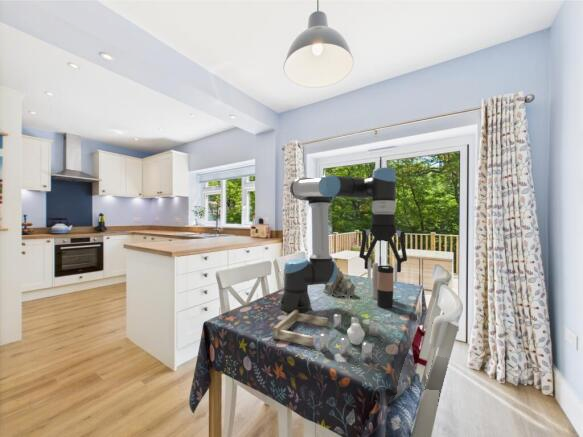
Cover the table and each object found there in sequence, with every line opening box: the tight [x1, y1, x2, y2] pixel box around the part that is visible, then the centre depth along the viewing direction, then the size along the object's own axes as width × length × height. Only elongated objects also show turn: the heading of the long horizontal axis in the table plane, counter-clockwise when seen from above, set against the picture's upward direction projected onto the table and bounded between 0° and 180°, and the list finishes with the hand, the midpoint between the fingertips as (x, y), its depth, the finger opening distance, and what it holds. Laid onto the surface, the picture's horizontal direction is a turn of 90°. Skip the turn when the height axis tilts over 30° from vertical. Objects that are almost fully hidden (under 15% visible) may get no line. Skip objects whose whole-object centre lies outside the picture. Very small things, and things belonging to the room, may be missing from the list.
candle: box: [371, 262, 379, 300], centre depth 142 cm, size 7×14×20 cm, turn 89°
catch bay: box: [273, 310, 329, 348], centre depth 99 cm, size 15×20×4 cm
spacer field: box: [318, 313, 378, 363], centre depth 91 cm, size 17×22×5 cm
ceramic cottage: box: [322, 266, 356, 298], centre depth 148 cm, size 16×16×15 cm
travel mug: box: [376, 264, 395, 310], centre depth 129 cm, size 8×8×20 cm
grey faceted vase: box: [346, 323, 366, 346], centre depth 90 cm, size 6×6×7 cm
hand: (382, 280), depth 87 cm, fingers open, 8 cm apart
